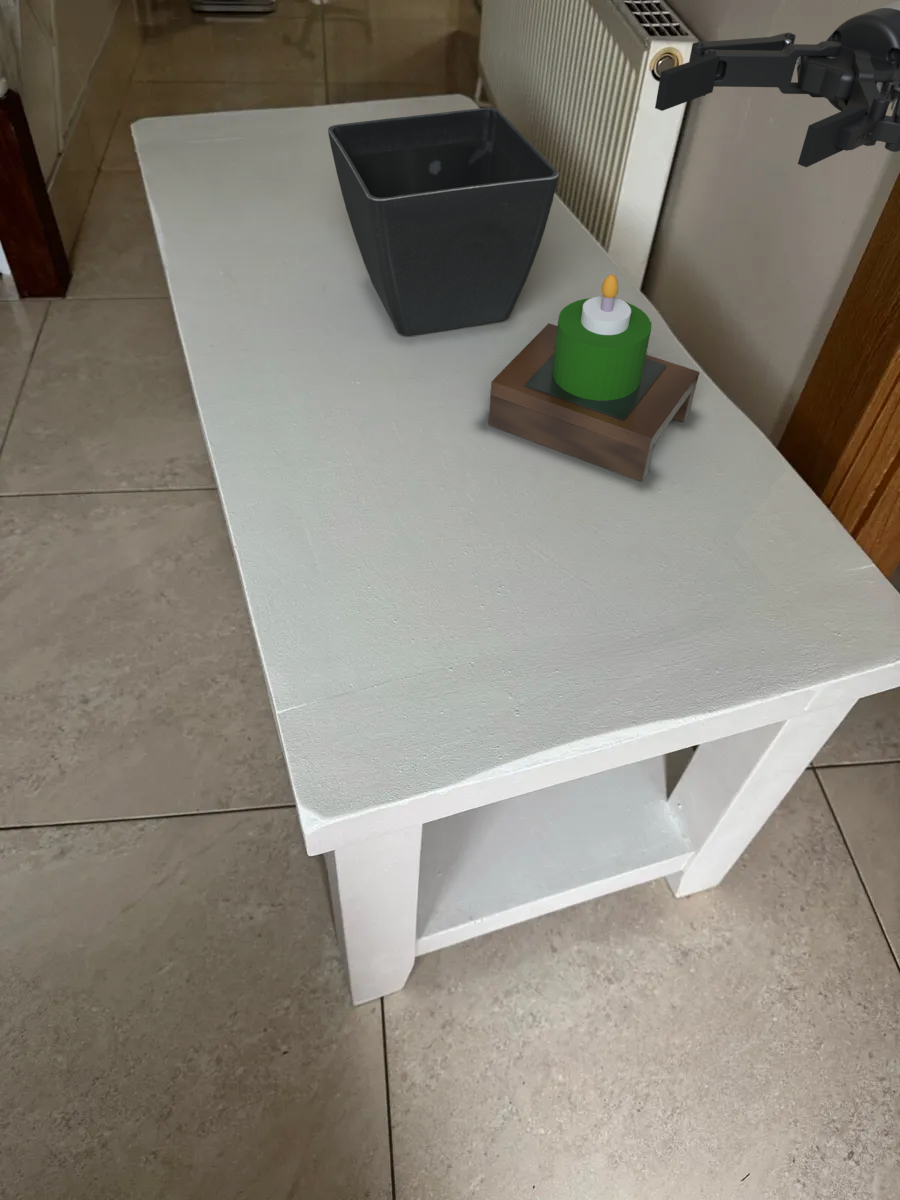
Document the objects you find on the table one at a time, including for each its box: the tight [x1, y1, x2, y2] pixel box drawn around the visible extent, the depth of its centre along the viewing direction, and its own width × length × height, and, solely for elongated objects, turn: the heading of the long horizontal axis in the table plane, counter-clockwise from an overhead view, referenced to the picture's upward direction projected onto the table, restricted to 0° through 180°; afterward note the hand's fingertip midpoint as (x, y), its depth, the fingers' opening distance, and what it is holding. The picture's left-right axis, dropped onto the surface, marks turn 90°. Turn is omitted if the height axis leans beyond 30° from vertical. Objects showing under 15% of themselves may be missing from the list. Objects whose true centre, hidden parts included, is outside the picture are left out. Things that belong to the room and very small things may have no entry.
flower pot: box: [327, 107, 560, 336], centre depth 99 cm, size 19×19×17 cm
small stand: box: [488, 322, 700, 483], centre depth 89 cm, size 16×12×5 cm
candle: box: [552, 274, 652, 401], centre depth 83 cm, size 8×8×10 cm
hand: (730, 117), depth 70 cm, fingers open, 13 cm apart
